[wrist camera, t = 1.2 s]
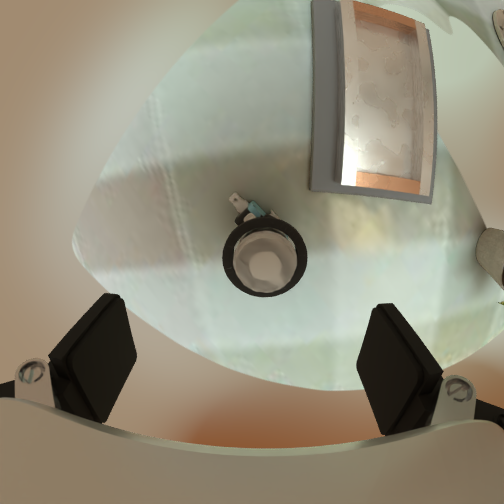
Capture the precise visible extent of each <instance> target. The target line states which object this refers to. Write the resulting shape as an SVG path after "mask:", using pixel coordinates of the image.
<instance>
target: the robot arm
mask: <svg viewBox="0 0 504 504" xmlns="http://www.w3.org/2000/svg"><path fill="white" fill-rule="evenodd" d="M493 21H494V26H495V29H496V32H497V35H498V37H499V39H500V42H501V44H502V46H503V48H504V10H501V9H500V10H497V11H495V12H494V14H493ZM48 356H49V358H50V360H51V361H50V362H49V363H47V362H46V361H45V360H43V359H39V358H33V359H29V360H26V361H25V362H23V363H22V364H21V365H20V366H19V367H18V368H17V370H16V373H15V380H13V381H10V382H6V383H3V384H0V504H504V409H502V408H500V407H497V406H494V405H491V404H489V403H486V402H483V401H481V400H478V399H476V389H475V387H474V385H473V384H472V383H471V382H470V381H469V380H467V379H466V378H464V377H462V376H458V375H451V376H448V377H446V378H445V379H443V378H442V376H441V375H442V373H443V370H442V369H441V367H440V366H439V364H438V363H437V361H436V360H435V358H434V357H433V356H432V354H431V353H430V351H429V350H428V349H427V347H426V346H425V345H424V343H423V342H422V340H421V339H420V338H419V336H418V335H417V334H416V332H415V331H414V330H413V328H412V327H411V326H410V325H409V323H408V322H407V321H406V319H405V318H404V317H403V315H402V314H401V313H400V312H399V310H398V309H397V308H396V307H395V305H394V304H393V303H386V304H378V305H377V306H376V308H373V310H372V313H371V316H370V320H369V324H368V327H367V331H366V334H365V337H364V341H363V344H362V347H361V350H360V353H359V356H358V359H357V364H356V367H357V371H358V374H359V376H360V379H361V381H362V384H363V386H364V389H365V392H366V394H367V397H368V400H369V402H370V405H371V408H372V410H373V413H374V416H375V418H376V421H377V424H378V427H379V430H380V432H381V434H382V435H385V436H384V437H380V438H374V439H369V440H363V441H358V442H351V443H344V444H336V445H327V446H318V447H304V448H283V449H282V448H280V449H252V448H251V449H250V448H231V447H218V446H207V445H198V444H190V443H183V442H177V441H171V440H165V439H160V438H155V437H150V436H145V435H141V434H136V433H133V432H129V431H125V430H121V429H117V428H114V427H110V426H107V425H104V424H102V422H103V423H105V422H106V421H107V419H108V417H109V415H110V412H111V410H112V408H113V406H114V404H115V402H116V400H117V398H118V396H119V394H120V392H121V389H122V388H123V386H124V383H125V382H126V380H127V377H128V376H129V374H130V372H131V369H132V368H133V366H134V364H135V362H136V358H137V353H136V349H135V345H134V341H133V337H132V334H131V329H130V325H129V321H128V316H127V312H126V307H125V302H124V300H123V299H122V298H120V296H119V295H118V294H110V293H104V294H103V295H102V296H101V297H100V298H99V299H98V300H97V301H96V302H95V303H94V304H93V306H92V307H91V308H90V309H89V310H88V311H87V312H86V313H85V314H84V315H83V316H82V317H81V319H80V320H79V321H78V322H77V323H76V324H75V325H74V326H73V327H72V328H71V329H70V331H69V332H68V333H67V334H66V335H65V336H64V337H63V339H62V340H61V341H60V342H59V343H58V344H57V346H56V347H55V348H54V349H53V350H52V351H51V353H50V354H49V355H48Z"/></svg>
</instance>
